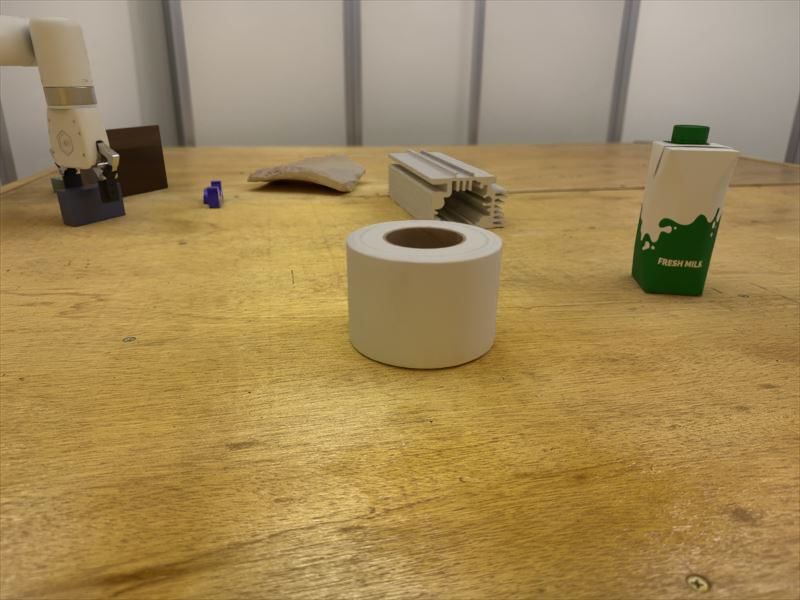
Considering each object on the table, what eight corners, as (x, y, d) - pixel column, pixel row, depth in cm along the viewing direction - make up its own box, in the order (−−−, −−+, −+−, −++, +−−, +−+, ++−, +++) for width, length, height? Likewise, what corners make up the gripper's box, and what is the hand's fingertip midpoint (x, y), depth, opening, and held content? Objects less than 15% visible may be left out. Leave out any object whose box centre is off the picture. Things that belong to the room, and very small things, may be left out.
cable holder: (206, 199, 117) (204, 180, 115) (223, 199, 118) (221, 180, 116) (201, 208, 110) (198, 188, 108) (219, 207, 110) (217, 187, 109)
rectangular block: (63, 224, 98) (55, 190, 95) (113, 212, 106) (107, 181, 104) (76, 226, 96) (68, 192, 94) (125, 214, 104) (120, 183, 102)
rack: (53, 191, 123) (38, 126, 117) (116, 180, 136) (105, 120, 130) (106, 200, 115) (92, 131, 110) (168, 187, 128) (158, 124, 123)
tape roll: (349, 306, 65) (347, 217, 61) (478, 304, 66) (484, 216, 62) (347, 372, 51) (343, 262, 47) (510, 368, 52) (522, 260, 48)
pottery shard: (281, 178, 144) (243, 185, 125) (282, 149, 142) (243, 152, 123) (370, 187, 139) (344, 196, 120) (372, 157, 137) (346, 161, 118)
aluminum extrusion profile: (448, 192, 126) (450, 147, 122) (505, 227, 99) (510, 171, 95) (388, 195, 123) (388, 149, 119) (430, 232, 96) (432, 173, 92)
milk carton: (687, 275, 77) (722, 125, 69) (712, 299, 68) (755, 132, 61) (622, 271, 78) (649, 123, 70) (639, 295, 69) (671, 130, 62)
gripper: (18, 98, 94) (43, 198, 100) (83, 100, 86) (106, 208, 93) (61, 97, 100) (82, 191, 106) (125, 98, 92) (143, 199, 99)
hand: (93, 199), depth 99 cm, fingers open, 9 cm apart
